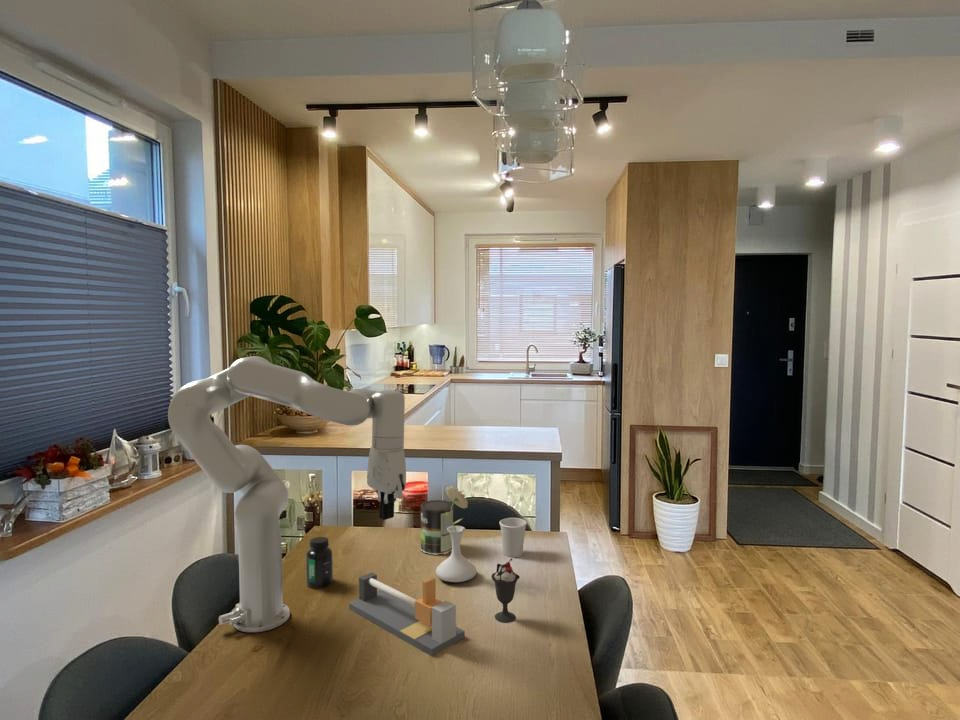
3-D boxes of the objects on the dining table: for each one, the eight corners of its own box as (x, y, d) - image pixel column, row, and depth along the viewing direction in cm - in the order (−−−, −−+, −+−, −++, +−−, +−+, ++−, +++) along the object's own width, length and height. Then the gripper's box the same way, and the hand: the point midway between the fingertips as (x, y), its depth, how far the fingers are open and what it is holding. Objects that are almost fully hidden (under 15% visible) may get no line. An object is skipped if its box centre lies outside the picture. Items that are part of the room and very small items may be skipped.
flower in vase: (482, 582, 157) (483, 492, 156) (443, 589, 153) (442, 496, 151) (466, 564, 169) (466, 480, 168) (428, 570, 165) (428, 484, 164)
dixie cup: (527, 549, 180) (527, 518, 180) (525, 560, 172) (525, 527, 171) (500, 548, 181) (500, 516, 181) (497, 558, 173) (497, 526, 173)
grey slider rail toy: (349, 609, 142) (348, 575, 142) (381, 595, 150) (381, 563, 149) (431, 656, 122) (431, 617, 122) (464, 637, 129) (464, 600, 129)
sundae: (517, 625, 134) (517, 563, 134) (489, 622, 136) (489, 560, 135) (521, 612, 141) (521, 552, 140) (494, 609, 142) (494, 549, 141)
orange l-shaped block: (415, 618, 130) (414, 579, 129) (428, 611, 133) (428, 573, 132) (430, 626, 127) (430, 586, 126) (443, 619, 130) (443, 580, 129)
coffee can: (424, 557, 174) (424, 511, 173) (417, 544, 184) (417, 501, 183) (457, 553, 177) (457, 508, 176) (449, 541, 187) (448, 498, 186)
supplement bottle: (312, 591, 152) (311, 546, 151) (303, 581, 157) (302, 538, 157) (336, 584, 156) (336, 540, 155) (327, 575, 161) (326, 533, 161)
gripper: (357, 439, 141) (355, 513, 142) (394, 449, 130) (392, 529, 131) (382, 436, 146) (381, 507, 147) (420, 445, 135) (418, 522, 136)
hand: (386, 517), depth 139 cm, fingers closed
